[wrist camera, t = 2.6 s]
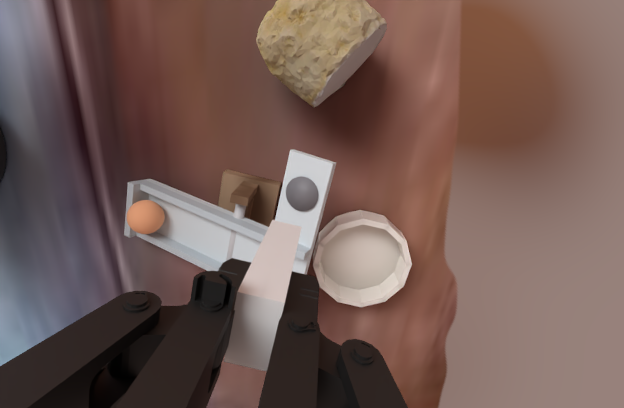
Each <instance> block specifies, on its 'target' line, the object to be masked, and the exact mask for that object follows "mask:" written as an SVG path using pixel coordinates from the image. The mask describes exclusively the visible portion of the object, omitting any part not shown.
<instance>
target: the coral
mask: <svg viewBox="0 0 624 408" xmlns="http://www.w3.org/2000/svg"><path fill="white" fill-rule="evenodd" d="M386 27H387V23H386V21H385V19H384V18H381V15H380V14H379V13H378V12H376V10H375V9H373V8H372V7H370V5H369V4H368V3H367V2H366V1H364V0H277V1H276V3H275V5H274V7H273V8H272V10H271V11H268V12H267V14H266V15H265V17H264V19H263V21H262V22H261V24H260V27H259V29H258V34H257V38H256V41H257V45H258V48H259V50H260V53H261V55H262V57H263V58H264V60H265V63H266V65H267V67H268V69H269V70H270V72H271V73H272V74H273V76H276V77H277V78H278V79H279V80H280V81H282V83H283V84H285V85H286V86H287V87H288V88H289V89H290V90H291V91H292V92H293V93H295V94H297V95H298V96H299V97H301V98H302V99H303V100H304V101H306V102H307V103H308V104H309V105H311V106H313V108H314V107H316V106H318V105H319V104H321V103H322V102H323V101H324V100H325V99H326V98H327V97H328V96H330V95H331V94H333V93H334V92H336V91H337V90H338V89H339V88H341V87H343V86H344V85H345V83H346V81H347V79H349V78H350V77H351V76H352V75H353V74H354V73H355V72H356V70H357V69H358V68H359V67H360V66H361V65H362V64H363V63H364V62H365V60H366V59H367V58H368V57H369V56H370V55H371V54H372V53H373V51H374V50H375V49H376V47H377V46H378V44H379V43H380V41H381V39H382V38H383V36H384V34H385V31H386Z"/></svg>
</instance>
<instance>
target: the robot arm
mask: <svg viewBox="0 0 624 408" xmlns="http://www.w3.org/2000/svg"><path fill="white" fill-rule="evenodd" d="M5 166H6V147H5V142H4V138H3V134H2V131H1V129H0V181H1V179H2V177H3V174H4V171H5ZM301 228H302V227H300V226H296V225H292V224H288V223H283V222H279V221H275V220H272V222H271V224H270V226H269V228H268V230H267V232H266V234H265V236H264V238H263V240H262V242H261V244H260V246H259V248H258V250H257V252H256V254H255V257H254V259H253V261H252V263H251V262H247V261H243V260H238V259H234V258H231V259H229V260H227V261H225V262H223V264H222V265H221V267H220V268H219V270H218V271H205V272H202V273H199V274H197V275H196V276H195V277H194V280H193V287H192V294H191V300H190V302H189V303H188V304H187V305H182V306H161V300H160V298H159V297H158V296H157V295H155V294H154V293H150V292H146V291H133V292H128V293H125V294H123V295H120V296H118V297H116V298H115V299H113V300H111V301H110V302H108V303H106V304H105V305H103V306H101V307H99V308H98V309H96V310H94V311H93V312H91V313H89V314H88V315H86V316H84V317H83V318H81V319H79V320H78V321H76V322H74V323H73V324H71V325H69V326H67V327H66V328H64V329H62V330H61V331H59V332H57V333H56V334H54V335H52V336H51V337H49V338H47V339H46V340H44V341H42V342H41V343H39V344H37V345H35V346H34V347H32V348H30V349H29V350H27V351H25V352H24V353H22V354H20V355H19V356H17V357H15V358H14V359H12V360H10V361H8V362H7V363H5V364H3V365H2V366H0V408H206V406H207V404H208V402H209V399H210V397H211V394H212V392H213V389H214V387H215V384H216V382H217V379H218V377H219V374H220V368H221V363H222V360H223V358H224V355H225V358H224V362H228V363H232V364H236V365H241V366H245V367H249V368H254V369H258V370H262V371H267V373H266V377H265V381H264V385H263V389H262V393H261V397H260V401H259V406H258V408H408V407H407V405H406V403H405V401H404V399H403V397H402V395H401V393H400V391H399V389H398V387H397V385H396V383H395V381H394V379H393V377H392V375H391V373H390V371H389V369H388V367H387V365H386V363H385V361H384V359H383V356H382V355H381V354H380V352H379V351H378V350H377V349H376V348H375V347H374V346H372V345H371V344H369V343H367V342H365V341H362V340H357V339H352V340H347V341H346V342H344V343H343V344H342V346H340V345H338V344H336V343H334V342H332V341H331V340H329V339H327V338H326V337H325V336H324V335H323V334H322V333H321V332H320V328H319V324H318V323H317V315H318V297H319V283H318V281H317V280H316V278H315V277H314V276H310V275H306V274H301V273H297V272H293V271H292V268H293V264H294V259H295V255H296V250H297V246H298V241H299V237H300V232H301Z"/></svg>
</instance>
